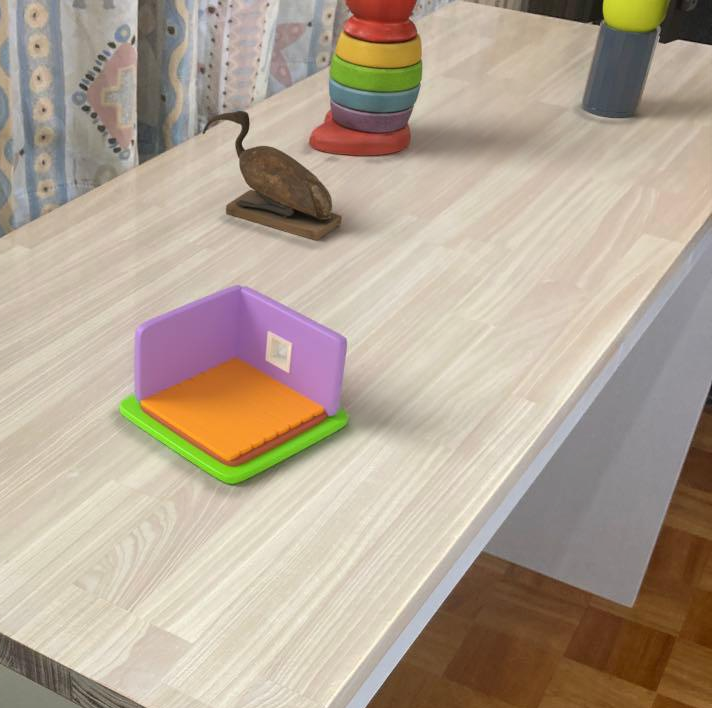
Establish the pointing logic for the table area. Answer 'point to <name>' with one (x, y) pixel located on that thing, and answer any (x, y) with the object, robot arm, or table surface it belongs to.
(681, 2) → the robot arm
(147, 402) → the miniature room corner
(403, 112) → the stacking bear
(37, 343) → the table surface
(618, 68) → the cup
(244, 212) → the figurine
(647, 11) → the tennis ball
